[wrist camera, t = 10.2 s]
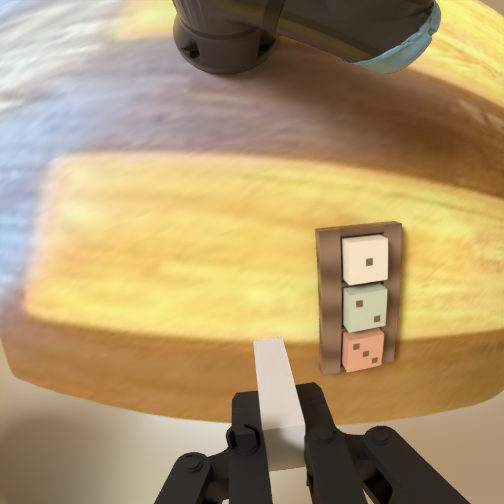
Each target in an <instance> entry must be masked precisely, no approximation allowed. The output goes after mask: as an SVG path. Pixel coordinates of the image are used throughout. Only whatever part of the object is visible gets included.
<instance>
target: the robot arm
mask: <svg viewBox="0 0 504 504" xmlns="http://www.w3.org/2000/svg"><path fill="white" fill-rule="evenodd" d="M172 1H173V4H174V6H175V8H176V11H177V14H176V18H175V21H174V26H173V35H174V40H175V43H176V45H177V47H178V49H179V51H180V53H181V55H182V56H183V57H184V58H185V59H186V60H187V61H188V62H189V63H190V64H192V65H193V66H195V67H197V68H199V69H201V70H203V71H206V72H210V73H216V74H233V73H239V72H243V71H246V70H249V69H251V68H253V67H255V66H257V65H259V64H260V63H262V62H263V61H264V60H265V59H266V58H267V57H268V56H269V55H270V54H271V53H272V51H273V50H274V48H275V46H276V44H277V41H278V37H279V35H282V36H285V37H288V38H291V39H294V40H297V41H300V42H303V43H306V44H308V45H311V46H314V47H316V48H319V49H321V50H324V51H326V52H329V53H331V54H334V55H336V56H338V57H341V58H342V59H343V60H344V61H345V62H347V63H349V64H354V65H358V66H361V67H363V68H365V69H368V70H370V71H372V72H375V73H381V74H390V73H394V72H397V71H399V70H402V69H403V68H405V67H407V66H408V65H410V64H411V63H412V62H413V61H415V60H416V59H417V58H418V57H419V56H420V55H421V54H422V53H423V52H424V51H425V50H426V48H427V47H428V46H429V44H430V43H431V41H432V37H431V36H432V35H433V34H434V33H435V32H437V30H438V28H439V25H440V21H441V11H440V7H439V5H438V4H437V2H436V1H435V0H172ZM253 341H254V351H255V362H256V372H257V382H258V391H250V392H239V393H236V395H235V396H234V398H233V399H232V426H231V427H230V428H229V429H228V430H227V433H226V439H227V443H228V448H227V449H226V450H224V451H223V452H221V453H218V454H216V455H212V456H209V457H207V456H206V455H204V454H202V453H198V452H190V453H186V454H184V455H182V456H180V457H179V458H178V459H177V461H176V462H175V464H174V466H173V468H172V470H171V472H170V474H169V476H168V478H167V480H166V482H165V483H164V485H163V487H162V489H161V491H160V493H159V495H158V497H157V499H156V501H155V503H154V504H222V502H223V500H226V499H229V504H273V502H272V493H271V485H270V478H269V472H270V471H279V470H286V469H293V468H299V467H305V464H306V468H307V486H309V489H310V494H311V499H312V504H368V503H367V500H366V497H365V494H364V492H363V489H364V491H365V492H366V493H367V495H368V496H369V498H370V499H371V500H372V502H373V503H374V504H470V503H469V502H468V501H467V500H466V499H465V498H464V497H463V496H462V495H461V494H460V493H458V491H457V490H456V489H454V488H453V487H452V486H451V485H450V484H449V483H448V482H447V481H446V480H445V479H444V478H443V477H442V476H441V475H440V474H439V473H438V472H437V471H436V470H435V469H433V467H432V466H431V465H430V464H429V463H427V462H426V461H425V460H424V459H423V458H422V457H421V456H420V455H419V454H418V453H417V452H416V451H415V450H414V449H413V448H412V447H411V446H410V445H409V444H408V443H407V442H406V441H405V440H404V439H403V438H402V437H401V436H400V435H399V434H398V433H397V432H396V431H395V430H393V429H392V428H390V427H387V426H376V427H373V428H371V429H369V430H368V431H367V432H366V433H365V435H351V434H346V433H343V432H341V431H340V430H339V429H337V428H336V426H335V424H334V421H333V419H332V416H331V413H330V411H329V408H328V405H327V403H326V400H325V397H324V394H323V392H322V389H321V388H320V387H319V386H318V385H317V384H316V383H315V382H312V383H306V384H300V385H295V384H294V380H293V376H292V372H291V369H290V365H289V361H288V357H287V353H286V350H285V346H284V342H283V338H282V337H277V338H269V339H260V340H253ZM362 488H363V489H362Z"/></svg>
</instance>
